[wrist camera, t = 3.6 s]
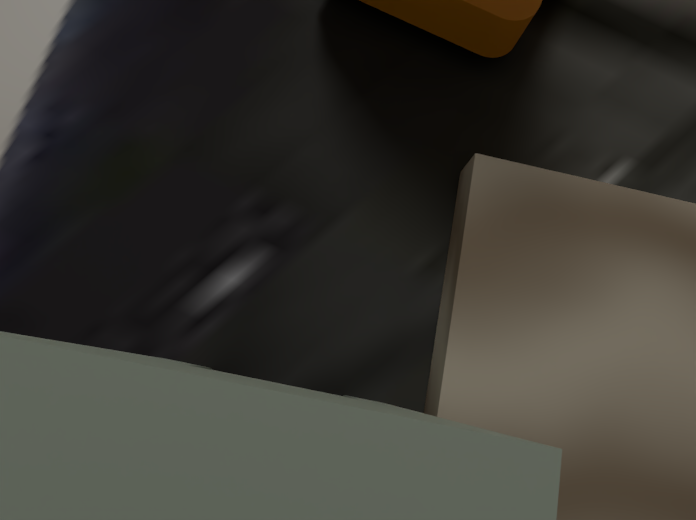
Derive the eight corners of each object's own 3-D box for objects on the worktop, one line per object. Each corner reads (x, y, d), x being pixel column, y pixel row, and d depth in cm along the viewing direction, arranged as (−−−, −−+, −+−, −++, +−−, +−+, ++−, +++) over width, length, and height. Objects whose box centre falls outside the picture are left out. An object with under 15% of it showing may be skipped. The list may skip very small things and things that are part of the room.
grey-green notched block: (358, 547, 14) (519, 978, 4) (129, 504, 14) (-343, 852, 4) (383, 403, 15) (562, 449, 5) (170, 359, 15) (-109, 312, 5)
